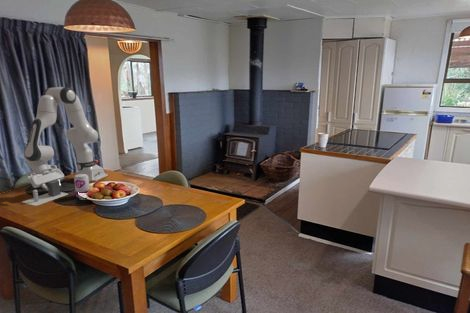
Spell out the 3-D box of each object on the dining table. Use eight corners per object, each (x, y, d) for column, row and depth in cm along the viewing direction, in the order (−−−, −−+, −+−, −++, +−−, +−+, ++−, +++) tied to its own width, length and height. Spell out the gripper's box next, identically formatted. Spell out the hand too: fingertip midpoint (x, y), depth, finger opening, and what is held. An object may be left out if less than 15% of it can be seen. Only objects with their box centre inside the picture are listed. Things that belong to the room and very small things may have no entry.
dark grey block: (55, 192, 214) (53, 180, 212) (60, 194, 212) (59, 181, 210) (48, 195, 210) (46, 182, 208) (53, 196, 208) (51, 183, 206)
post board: (55, 192, 219) (53, 180, 217) (69, 196, 213) (67, 183, 211) (21, 204, 200) (19, 191, 197) (36, 208, 193) (34, 194, 191)
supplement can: (87, 200, 206) (84, 177, 202) (74, 200, 206) (71, 177, 202) (92, 195, 213) (90, 173, 210) (80, 195, 214) (77, 173, 210)
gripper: (27, 172, 201) (40, 190, 199) (58, 164, 219) (70, 180, 217) (24, 178, 204) (36, 196, 202) (54, 170, 222) (66, 186, 220)
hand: (54, 188), depth 210 cm, fingers open, 6 cm apart
